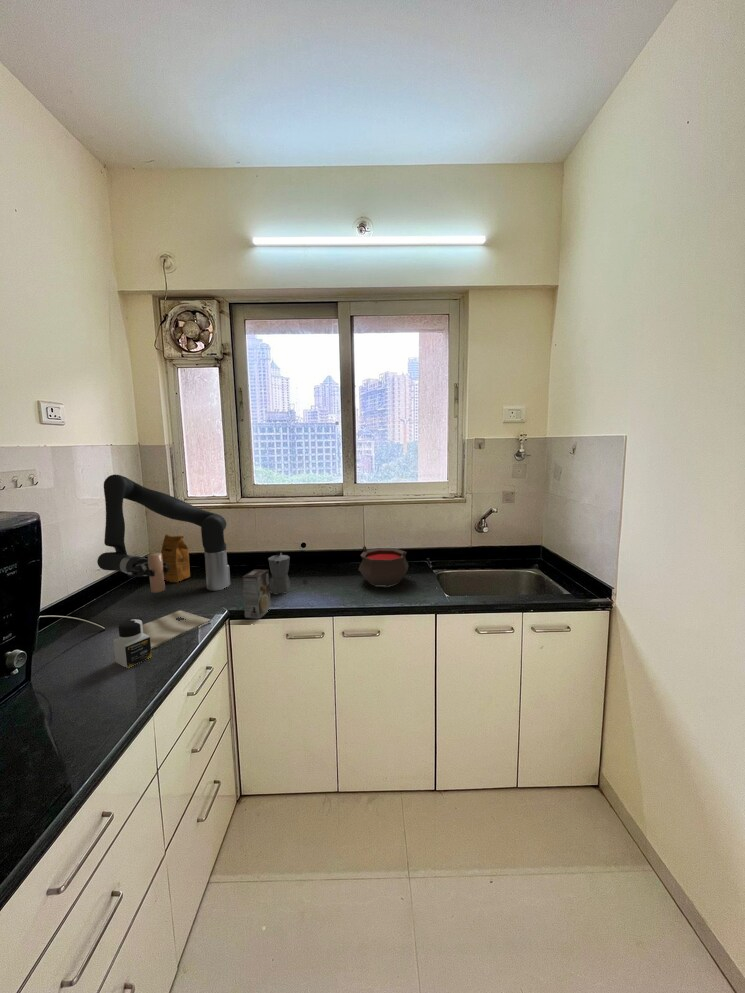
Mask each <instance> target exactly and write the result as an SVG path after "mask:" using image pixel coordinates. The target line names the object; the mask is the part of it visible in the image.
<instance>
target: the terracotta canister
mask: <svg viewBox="0 0 745 993" xmlns="http://www.w3.org/2000/svg"><path fill="white" fill-rule="evenodd" d="M146 557H147V559H148V566H149V570H154V574H155V576H153V577H152V576H149V583H150V584H149V585H150V593H161V592H164V591H166V584H165V582H166V581H164V570H163V560H162V553H161V552H154V553H149V554H147V556H146Z"/></svg>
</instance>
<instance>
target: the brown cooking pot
mask: <svg viewBox="0 0 745 993" xmlns="http://www.w3.org/2000/svg"><path fill="white" fill-rule="evenodd" d="M362 550H363V552H362V553H361V554H360V557H361V559H362V560H361V563H360V564H359V567H358V571H359V573H360V574H361V575H362V577H363V578H364V579H365V581H368V582H370V583H372V584H374V585H386V586H389V585H393V584H396V583H399V584H400V582H401V581H402V580H403V579H404V577H405V575H406V574H407V572H408V569H409V563H408V560H407V558H406V555H407V551H404V550H403V549H402V550H401V549H398V548H392V547H391V548H390V547H375V548H372V549H367V547H366V545H365V544H364V545H363V547H362ZM368 582H367V583H368Z"/></svg>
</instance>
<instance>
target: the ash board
mask: <svg viewBox="0 0 745 993" xmlns="http://www.w3.org/2000/svg"><path fill="white" fill-rule="evenodd" d="M178 617H179V618H180V617H181V618H184V620H180V621H178V620H176V618H178ZM185 619H186V620H185ZM210 620H211V619H210V618H206V617H203V616H200V615H196V614H195V613H194V614H193V613H191V612H187V611H184V610H176V611H174V612H172V613H170V614H168V615H164V616H162V617H159V618H157V619H154V620H151V621H150V622H147V623H144V624H142V626H143V633H144V634H146V635H148V636H150V643H151V649H152V648H154V647H157V646H158V645H160V644H162V643H164V642H166V641H168V640H170V639H172V638H174V637H176V636H178V635H180V634H182V633H184V632H186V631H189V630H191V629H193V628H196V627H198V626H200V625H202V624H204V623H206V622H208V621H210Z"/></svg>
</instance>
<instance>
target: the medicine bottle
mask: <svg viewBox="0 0 745 993" xmlns="http://www.w3.org/2000/svg"><path fill="white" fill-rule="evenodd" d="M142 625H143V621H142V620H140V619H137V618H136V619H135V618H134V619H133V618H132V619H129V620H125V621H123V622H121V623H120V624H119V625H118V626H117V627H118V636H119V637H117V638H115V639H113V649H114V651H113V652H114V662H115V663H116V664H118V665H120V666H122V667H124V668H125V667H126V669H127V668H128V669H130V667H131V668H132V666H133V667H135V666H137V665H139V664H141V663H143V662H142V661H144V660H146V659H148V660H150V659H152V658H151V657H153V656H152V650H151V643H150V636H148V635H146V634H144V633H143V626H142ZM149 658H150V659H149ZM146 661H147V660H146ZM140 662H141V663H140ZM144 662H145V661H144ZM138 663H139V664H138ZM136 664H137V665H136ZM134 665H135V666H134Z"/></svg>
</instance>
